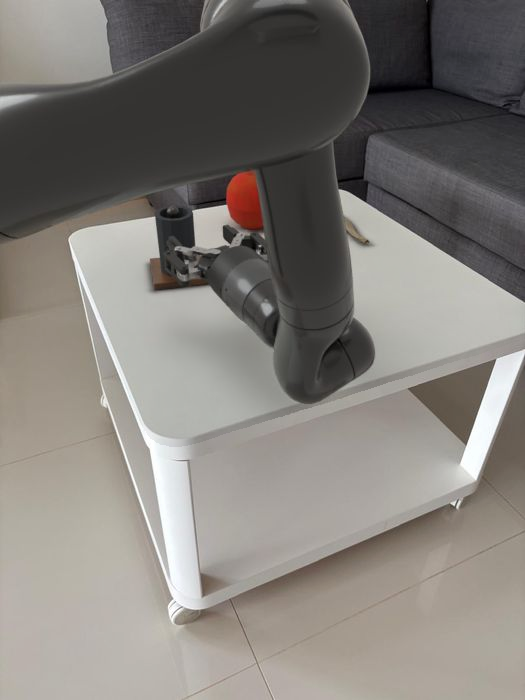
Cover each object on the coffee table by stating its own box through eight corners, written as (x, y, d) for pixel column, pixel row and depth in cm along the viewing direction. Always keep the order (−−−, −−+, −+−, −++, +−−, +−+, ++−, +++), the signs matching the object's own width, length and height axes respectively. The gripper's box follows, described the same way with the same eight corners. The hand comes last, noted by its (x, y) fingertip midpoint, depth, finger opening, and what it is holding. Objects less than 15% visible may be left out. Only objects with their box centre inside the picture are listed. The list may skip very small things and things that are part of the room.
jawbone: (310, 206, 119) (311, 197, 118) (390, 235, 109) (393, 226, 108) (284, 215, 114) (285, 205, 112) (366, 247, 103) (368, 237, 102)
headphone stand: (154, 290, 90) (146, 220, 82) (150, 264, 97) (141, 198, 89) (208, 284, 91) (204, 215, 84) (200, 259, 98) (196, 194, 91)
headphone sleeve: (162, 278, 90) (156, 221, 84) (159, 261, 95) (153, 206, 89) (198, 274, 92) (195, 218, 85) (193, 258, 96) (190, 204, 90)
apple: (267, 212, 116) (268, 157, 109) (284, 231, 108) (286, 173, 101) (221, 218, 113) (219, 162, 106) (236, 238, 105) (234, 179, 98)
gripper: (300, 248, 69) (241, 203, 80) (196, 273, 63) (148, 221, 74) (296, 298, 73) (241, 249, 84) (199, 326, 68) (154, 270, 79)
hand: (198, 236), depth 79 cm, fingers open, 8 cm apart
